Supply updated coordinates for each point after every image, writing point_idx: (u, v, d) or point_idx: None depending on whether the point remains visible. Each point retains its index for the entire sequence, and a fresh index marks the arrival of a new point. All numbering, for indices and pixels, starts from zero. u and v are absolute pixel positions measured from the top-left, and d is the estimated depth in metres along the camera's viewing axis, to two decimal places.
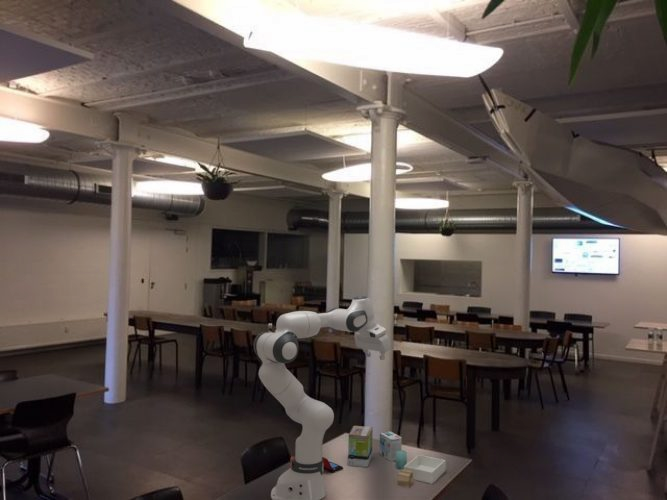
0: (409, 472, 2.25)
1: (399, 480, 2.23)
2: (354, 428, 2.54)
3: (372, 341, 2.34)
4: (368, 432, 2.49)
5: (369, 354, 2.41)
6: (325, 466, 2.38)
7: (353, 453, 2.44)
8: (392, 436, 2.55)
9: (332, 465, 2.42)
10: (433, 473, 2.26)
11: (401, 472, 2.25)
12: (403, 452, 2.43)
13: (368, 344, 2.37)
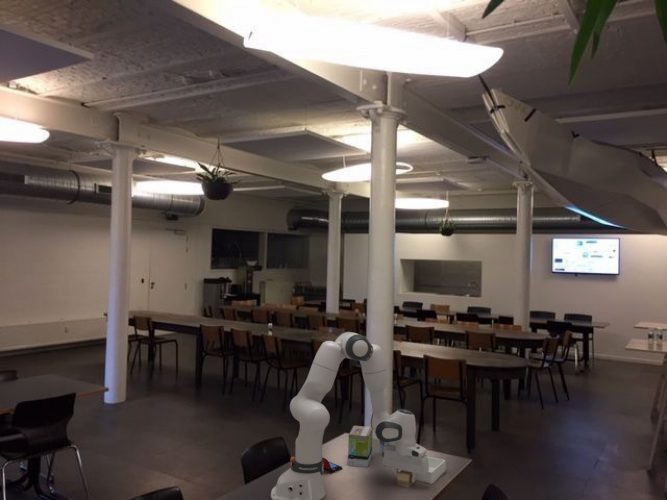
0: (409, 472, 2.25)
1: (399, 480, 2.23)
2: (354, 428, 2.54)
3: (409, 461, 2.22)
4: (368, 432, 2.49)
5: None
6: (324, 466, 2.38)
7: (353, 453, 2.44)
8: None
9: (331, 465, 2.42)
10: (433, 473, 2.26)
11: (401, 472, 2.25)
12: None
13: (402, 464, 2.23)
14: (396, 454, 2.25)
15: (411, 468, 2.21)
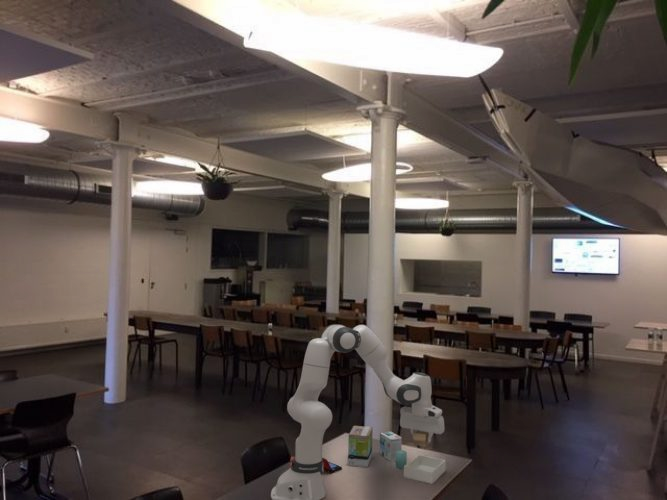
0: (425, 432, 2.32)
1: (416, 440, 2.31)
2: (354, 428, 2.54)
3: (425, 421, 2.30)
4: (368, 432, 2.49)
5: None
6: (324, 466, 2.38)
7: (353, 453, 2.44)
8: (392, 436, 2.55)
9: (331, 465, 2.42)
10: (433, 473, 2.26)
11: (417, 432, 2.32)
12: (403, 452, 2.43)
13: (418, 425, 2.31)
14: (412, 415, 2.33)
15: (427, 428, 2.29)
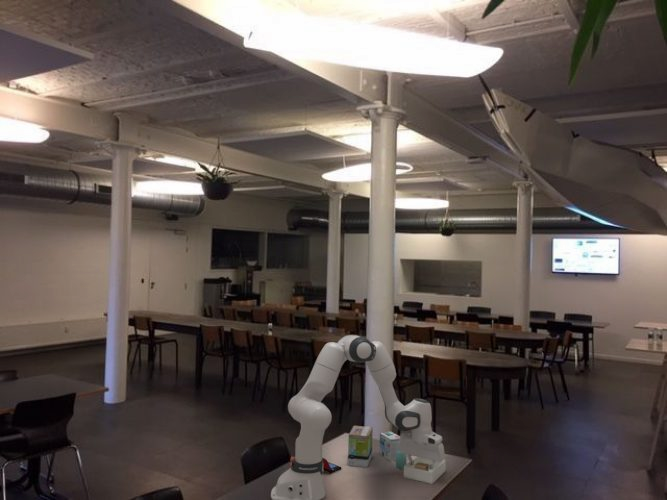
0: (425, 464, 2.32)
1: None
2: (354, 428, 2.54)
3: (425, 448, 2.29)
4: (368, 432, 2.49)
5: (413, 462, 2.34)
6: (324, 467, 2.37)
7: (353, 453, 2.44)
8: (392, 436, 2.55)
9: (330, 465, 2.42)
10: (433, 473, 2.26)
11: (417, 464, 2.32)
12: None
13: (418, 451, 2.31)
14: (412, 442, 2.32)
15: (427, 455, 2.28)
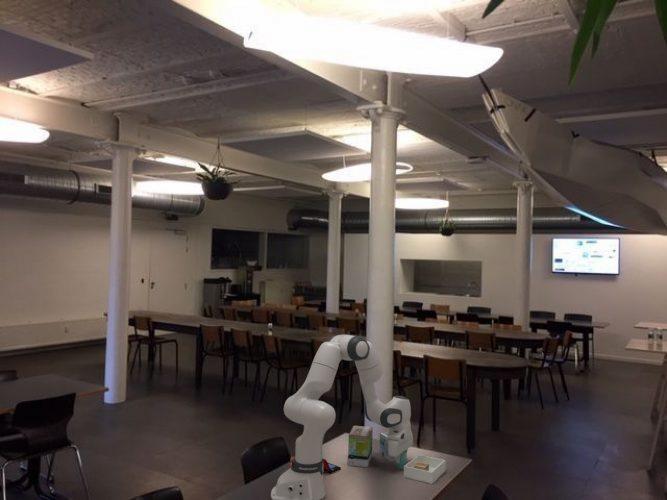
0: (425, 464, 2.32)
1: None
2: (354, 428, 2.54)
3: None
4: (368, 432, 2.49)
5: None
6: (323, 467, 2.37)
7: (353, 453, 2.44)
8: None
9: (330, 466, 2.41)
10: (433, 473, 2.26)
11: (417, 464, 2.32)
12: (403, 452, 2.43)
13: None
14: None
15: None
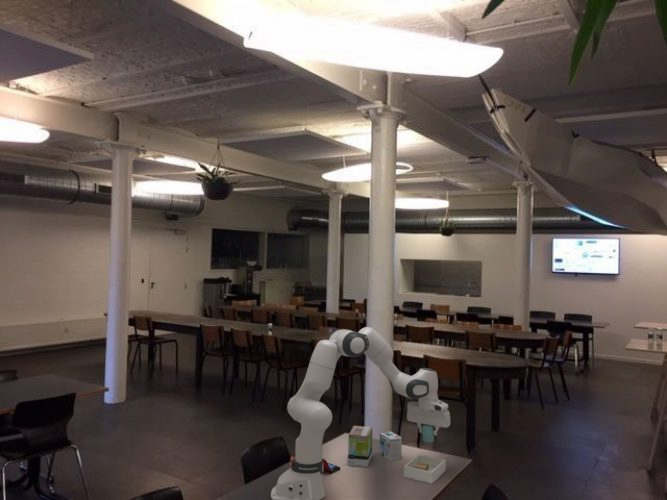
0: (425, 464, 2.32)
1: None
2: (354, 428, 2.54)
3: (432, 415, 2.36)
4: (368, 432, 2.49)
5: None
6: (323, 467, 2.37)
7: (353, 453, 2.44)
8: (392, 436, 2.55)
9: (329, 466, 2.41)
10: (433, 473, 2.26)
11: (417, 464, 2.32)
12: None
13: (425, 418, 2.38)
14: (419, 409, 2.40)
15: (434, 422, 2.36)
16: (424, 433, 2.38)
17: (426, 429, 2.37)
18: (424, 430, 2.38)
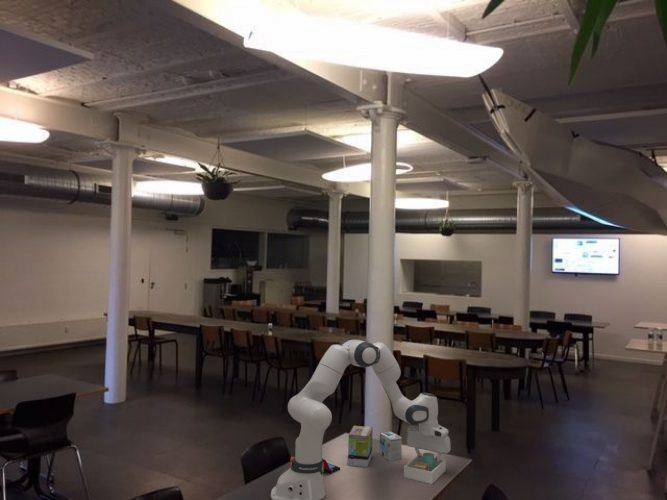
0: (425, 464, 2.32)
1: None
2: (354, 428, 2.54)
3: (432, 440, 2.36)
4: (368, 432, 2.49)
5: (420, 455, 2.41)
6: (323, 467, 2.37)
7: (353, 453, 2.44)
8: (392, 436, 2.55)
9: (329, 466, 2.41)
10: (433, 473, 2.26)
11: (417, 464, 2.32)
12: (429, 453, 2.39)
13: (425, 444, 2.38)
14: (419, 434, 2.39)
15: (434, 447, 2.35)
16: None
17: (426, 459, 2.36)
18: (424, 460, 2.37)
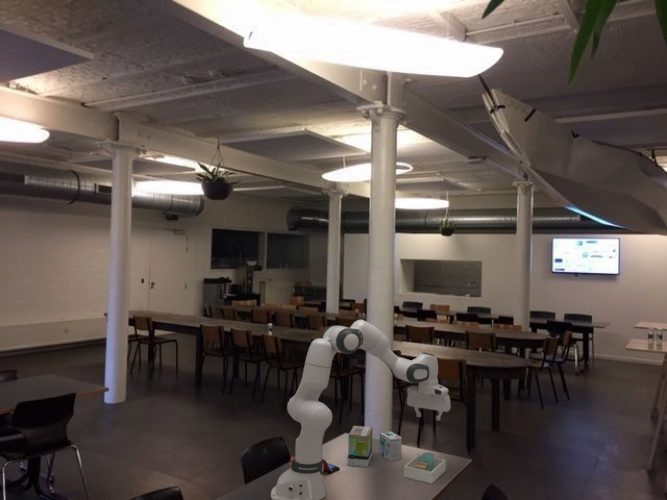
0: (425, 464, 2.32)
1: None
2: (354, 428, 2.54)
3: (432, 399, 2.37)
4: (368, 432, 2.49)
5: (420, 414, 2.41)
6: None
7: (353, 453, 2.44)
8: (392, 436, 2.55)
9: (329, 466, 2.41)
10: (433, 473, 2.26)
11: (417, 464, 2.32)
12: (428, 453, 2.39)
13: (425, 403, 2.38)
14: (419, 394, 2.40)
15: (434, 406, 2.36)
16: None
17: (426, 459, 2.36)
18: (424, 460, 2.37)
